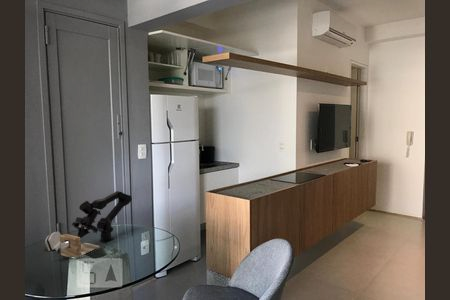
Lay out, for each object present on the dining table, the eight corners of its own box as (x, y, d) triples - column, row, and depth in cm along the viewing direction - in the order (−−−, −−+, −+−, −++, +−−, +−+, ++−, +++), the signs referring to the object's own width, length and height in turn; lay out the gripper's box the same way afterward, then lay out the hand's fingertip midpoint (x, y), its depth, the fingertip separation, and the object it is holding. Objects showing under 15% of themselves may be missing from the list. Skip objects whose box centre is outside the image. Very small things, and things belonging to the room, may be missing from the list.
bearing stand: (85, 244, 224) (83, 226, 223) (99, 248, 218) (98, 229, 216) (61, 255, 209) (59, 235, 207) (76, 259, 202) (74, 239, 201)
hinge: (56, 250, 216) (49, 237, 214) (49, 253, 215) (42, 239, 214) (66, 240, 232) (59, 228, 231) (59, 243, 232) (53, 230, 230)
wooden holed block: (74, 243, 212) (74, 235, 211) (80, 244, 210) (79, 236, 209) (59, 249, 202) (58, 241, 202) (64, 251, 200) (64, 243, 199)
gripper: (73, 209, 218) (59, 231, 209) (93, 213, 209) (79, 236, 201) (84, 217, 226) (71, 239, 217) (103, 221, 217) (90, 244, 209)
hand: (77, 239), depth 211 cm, fingers closed, pressing on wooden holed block
